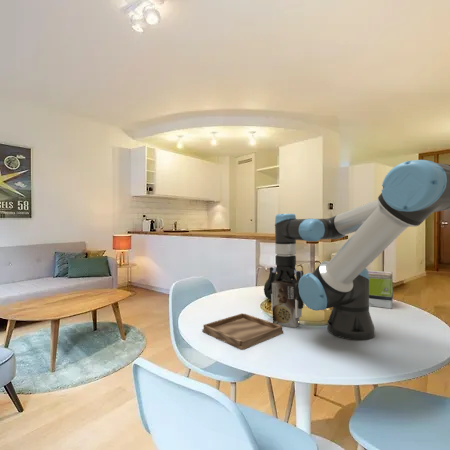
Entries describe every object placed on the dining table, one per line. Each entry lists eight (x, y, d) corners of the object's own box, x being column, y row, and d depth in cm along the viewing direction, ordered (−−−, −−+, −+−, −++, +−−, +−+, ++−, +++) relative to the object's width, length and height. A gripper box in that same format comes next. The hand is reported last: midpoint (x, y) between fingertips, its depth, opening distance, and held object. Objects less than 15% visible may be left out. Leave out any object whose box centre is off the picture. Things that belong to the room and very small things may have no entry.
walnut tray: (283, 332, 104) (283, 326, 104) (241, 350, 91) (241, 342, 91) (243, 318, 119) (243, 313, 119) (202, 331, 106) (202, 325, 106)
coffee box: (300, 322, 114) (299, 280, 114) (296, 328, 108) (296, 283, 108) (276, 319, 118) (276, 278, 117) (271, 324, 112) (271, 281, 112)
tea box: (393, 303, 137) (393, 271, 137) (391, 309, 129) (391, 275, 129) (357, 299, 146) (357, 269, 145) (354, 304, 137) (353, 272, 137)
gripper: (318, 256, 106) (318, 318, 107) (268, 251, 124) (269, 305, 124) (306, 258, 101) (306, 323, 102) (256, 253, 119) (256, 308, 119)
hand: (286, 313), depth 113 cm, fingers closed on coffee box, 10 cm apart
